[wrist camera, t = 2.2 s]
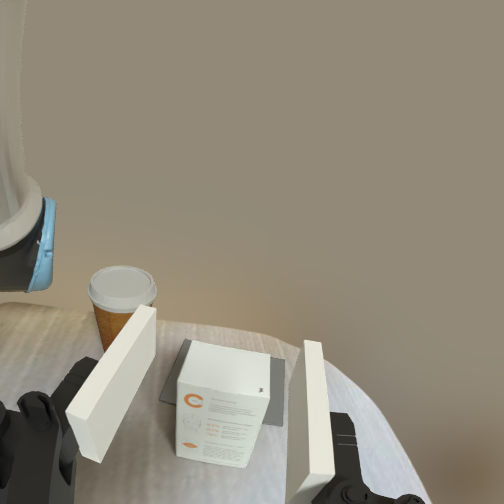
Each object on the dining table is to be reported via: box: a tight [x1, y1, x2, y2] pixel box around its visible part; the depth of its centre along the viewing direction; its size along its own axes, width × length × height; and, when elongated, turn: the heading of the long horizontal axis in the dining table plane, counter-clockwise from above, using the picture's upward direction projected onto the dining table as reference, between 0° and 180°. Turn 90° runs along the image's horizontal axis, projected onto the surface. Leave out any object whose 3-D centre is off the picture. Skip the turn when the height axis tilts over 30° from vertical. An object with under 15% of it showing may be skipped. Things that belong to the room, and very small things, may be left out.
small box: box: [176, 340, 270, 468], centre depth 31 cm, size 8×6×13 cm
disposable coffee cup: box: [88, 266, 157, 352], centre depth 42 cm, size 10×10×12 cm
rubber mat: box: [159, 339, 285, 426], centre depth 43 cm, size 16×14×1 cm
